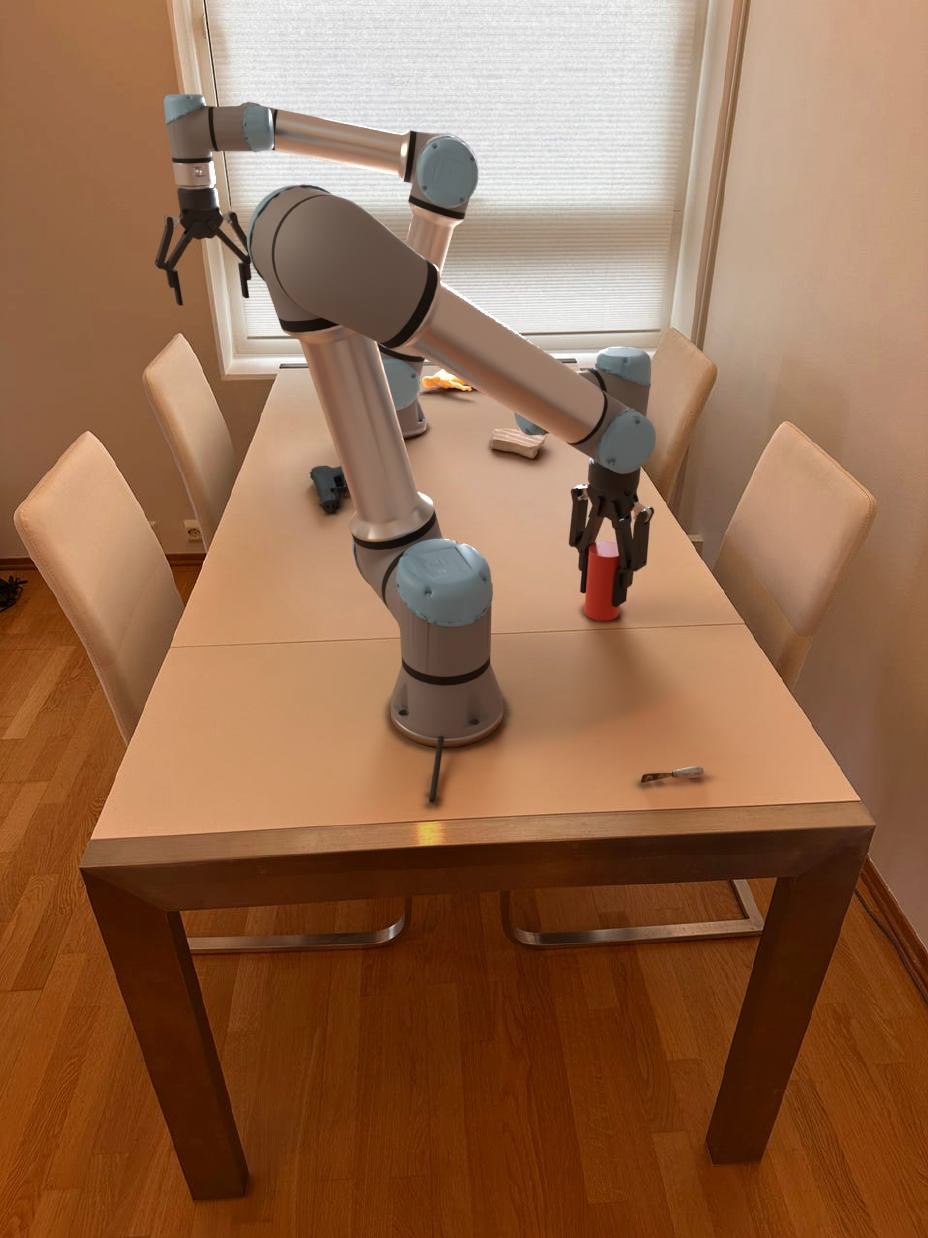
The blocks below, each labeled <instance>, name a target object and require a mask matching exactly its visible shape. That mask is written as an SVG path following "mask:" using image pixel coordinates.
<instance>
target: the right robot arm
mask: <svg viewBox="0 0 928 1238" xmlns="http://www.w3.org/2000/svg"><path fill="white" fill-rule="evenodd" d="M246 237H247V247H248V252H249V255H250V259H251V265H252V267H253V269H254V270H255V271H256V274H257V275H258V276H259V277H260V278H261V280H262V281H264V283H265V285H266V288H267V291H268V293H269V296H270V299H271V302H272V305H273V308H274V311H275V314H276V316H277V319H278V322H279V325H280V328H281V331H283V332H284V333H285V334H286V335H289V336H291V337H292V338H294V339H296V340H298V341H299V344H300V347H301V350H302V353H303V355H304V358H305V361H306V364H307V367H308V371H309V374H310V376H311V379H312V383H313V386H314V389H315V391H316V395H317V397H318V401H319V404H320V407H321V410H322V413H323V416H324V419H325V422H326V425H327V428H328V431H329V434H330V437H331V440H332V443H333V446H334V449H335V452H336V455H337V459H338V461H339V464H340V466H341V467H342V470H343V473H344V476H345V479H346V482H347V485H348V486H347V489H348V491H349V494H350V497H351V500H352V504H353V507H354V509H355V512H353V514H352V516H351V517H350V520H349V523H348V524H349V525H348V526H349V527H348V528H349V530H350V533H351V537H352V542H351V549H352V550H351V551H352V556H353V560H354V563H355V566H356V568H357V570H358V572H359V575H361V577H362V579H363V580H364V581H365V583H367V584H368V585H369V586H370V587H371V588H372V590H373V591H374V593H375V594H376V595H377V596H378V598H379V599H380V600H381V601H382V603H383V604H384V606H385V608H386V609H387V610H388V612H389V613H390V614H391V615H392V617H393V618H394V619H395V621H396V622H397V624H398V628H399V633H400V634H399V637H400V639H399V640H400V655H401V667H400V669H399V672H398V675H397V678H396V681H395V684H394V687H393V690H392V693H391V696H390V704H389V705H390V718H391V721H392V724H393V725H394V727H395V728H396V729H397V731H398V732H399V733H400V734H402V735H403V736H404V737H406V738H407V739H409V740H411V741H413V742H415V743H417V744H420V745H421V744H422V745H425V746H430V747H436V748H435V749H436V750H435V757H434V763H433V771H432V778H431V784H430V785H431V786H430V792H429V796H428V797H429V798H428V802H429V803H430V804H434V803H435V802H436V798H437V791H438V786H439V778H440V771H441V765H442V764H441V763H442V756H443V749H444V748H454V747H455V748H457V747H463V746H467V745H471V744H473V743H476V742H480V741H481V740H483V739H485V738H486V737H488V736H489V735H491V734H492V733H493V732H494V731H495V730H496V729H498V727H499V726H500V724H501V722H502V720H503V717H504V697H503V693H502V690H501V687H500V685H499V682H498V679H497V677H496V674H495V672H494V668H493V666H492V664H491V654H492V653H491V651H492V649H491V648H492V608H493V607H492V603H493V599H494V596H493V595H494V590H493V589H494V585H493V582H492V573H491V568H490V565H489V563H488V561H487V560H486V557H484V555H483V554H482V553H481V552H479V551H478V549H476V548H474V547H473V546H471V545H469V544H467V543H465V542H463V543H459V544H458V542H457V540H454V539H448V538H444V537H443V535H442V531H441V527H440V524H439V520H438V515H437V512H436V509H435V505H434V502H433V500H432V499H431V498H430V497H429V496H427V495H426V494H424V493H421V492H420V491H419V490H418V487H417V483H416V480H415V476H414V475H415V474H414V472H413V469H412V465H411V461H410V457H409V453H408V450H407V447H406V443H405V440H404V439H405V438H404V439H403V436H402V432H401V428H400V425H399V421H398V418H397V414H396V410H395V407H394V403H393V400H392V396H391V392H390V389H389V385H388V382H387V378H386V374H385V371H384V367H383V364H382V360H381V356H380V353H379V349H378V346H377V342H378V343H379V344H381V345H383V346H385V347H386V348H388V349H390V350H397V349H400V348H403V347H406V348H407V349H409V350H411V351H412V352H414V353H416V354H417V355H419V356H421V357H423V358H424V359H425V360H426V361H427V362H429V363H431V364H433V365H434V366H436V367H438V368H439V369H441V370H445V371H446V373H447V374H451V375H453V376H455V377H456V378H458V379H460V380H461V381H463V382H465V383H466V384H468V385H467V386H471V388H473V389H475V390H477V391H478V392H480V393H482V394H483V395H485V396H487V397H488V398H490V399H491V400H493V401H495V402H497V403H498V404H500V405H502V406H503V407H505V408H507V409H509V410H510V411H512V412H513V415H514V418H515V422H516V424H517V426H518V429H521V431H522V432H523V433H525V434H526V435H530V436H533V435H542V436H543V435H548V434H551V435H553V436H555V437H556V438H558V439H560V440H561V441H563V442H565V443H566V444H567V445H569V446H570V447H572V448H573V449H575V450H577V451H579V452H581V453H582V454H584V455H585V456H587V457H588V458H589V459H588V470H587V482H588V484H587V485H586V484H584V483H581V484H579V485H577V486H575V487H573V488H571V489H570V496H571V501H572V507H571V515H570V516H571V518H570V527H569V536H568V546H569V547H571V548H575V549H576V550H577V552H578V564H577V569H578V571H579V572H581V573H580V574H581V577H580V585H579V586H580V587H579V588H580V589H579V592H580V593H582V594H586V582H587V570H588V557H589V547H590V545H591V544H593V543H595V542H597V538H598V536H599V534H600V530H601V527H602V525H603V523H604V520H605V518H606V519H608V521H610V522H611V527H612V529H613V530H614V533H615V542H616V543H617V547H618V554H619V560H620V567H619V568H617V569H616V572H615V582H614V592H613V603H612V606H614V607H618V606H619V605H620V606H621V605H622V604H624V603H626V602H627V596H628V589H629V588H630V587H632V585H633V581H634V572H638V571H639V570H641V569H642V568H644V567H645V566H647V564H648V554H649V541H650V526H651V520H652V518H653V516H654V514H655V509H654V507H653V506H648V507H646V506H645V505H643V504H642V503H641V502H639V501H640V499H639V495H638V488H639V485H640V479H641V471H642V470H641V469H642V467H643V466H644V465H645V464H646V463H647V461H648V460H649V458H650V457H651V454H652V453H653V452H654V449H655V446H656V442H657V441H656V440H657V434H656V429H655V426H654V425H653V423H652V421H651V420H650V419H649V418H648V417H647V414H648V413H647V412H648V406H649V397H650V389H651V386H652V383H651V379H652V378H651V377H652V359H651V357H650V355H649V354H648V352H646V351H644V350H642V349H640V348H636V347H631V346H610V347H606V348H605V349H601V350H600V351H599V352H598V353H597V355H596V358H595V359H596V360H595V362H594V367H593V368H588V369H585V370H577V371H576V370H573V368H570V367H569V366H567V365H566V364H565V363H564V362H561V361H560V360H559V359H557V358H556V357H555V356H553V355H552V354H550V353H548V352H547V351H545V350H544V349H543V348H541V347H539V346H538V345H536V344H535V343H533V342H532V341H530V339H527V338H526V337H524V336H523V335H522V334H520V333H518V332H517V331H516V330H514V329H512V328H511V327H509V326H508V325H507V324H505V323H504V322H502V321H500V320H499V319H498V318H496V317H495V316H493V315H492V314H490V313H489V312H487V311H485V310H484V309H483V308H481V307H480V306H478V305H476V304H475V303H474V302H473V301H471V300H469V299H468V298H467V297H465V296H463V295H462V294H460V293H459V292H458V291H456V290H454V289H453V288H451V287H450V286H448V285H447V284H445V283H444V282H442V279H441V276H440V273H439V270H438V268H437V267H436V266H435V265H434V264H433V263H431V262H430V261H428V260H427V259H425V258H424V257H422V256H421V255H420V254H418V253H417V252H416V251H414V250H413V249H412V248H411V247H409V246H408V245H407V244H406V242H405V241H403V240H402V239H401V238H400V237H398V236H397V235H396V234H395V233H394V232H392V231H391V229H389V228H388V227H387V226H385V224H384V223H382V222H381V221H380V220H379V218H377V217H375V216H374V215H373V214H372V213H371V212H369V211H368V210H366V209H365V207H363V206H362V205H360V204H358V203H356V202H355V201H353V200H350V199H347V198H345V197H342V196H338V195H335V194H332V193H331V192H330V191H328V190H326V189H325V188H323V187H320V186H318V185H312V184H305V183H304V184H302V183H301V184H291V185H290V184H289V185H286V186H282V187H280V188H277V189H275V190H273V191H272V192H269V193H268V194H267V195H266V196H264V197H263V198H262V199H261V200H260V201H259V203H258V204H257V205H256V206H255V209H254V211H253V212H252V214H251V217H250V218H249V222H248V226H247V231H246ZM589 501H590V503H591V507H590V510H589V513H588V507H589ZM632 512H634V516H632ZM632 517H633V518H632ZM587 518H588V520H587ZM633 520H634V522H633ZM632 523H633V530H632Z"/></svg>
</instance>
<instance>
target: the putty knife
mask: <svg viewBox="0 0 928 1238" xmlns="http://www.w3.org/2000/svg"><path fill="white" fill-rule="evenodd" d="M704 772H705V771H704V768H702V767H701V766H697V765H695V766H688V767H683V768H679V769H675V770H673V771H671V772H653V773H652V772H651V773H650V772H649V773H644V774H642V776H641V779H640V783H642V784H645V783H648V782H653V781H659V780H665V779H668V778H673V779H674V778H675V779H693V778H694V779H695V778H700V777H702V776H703V775H704Z"/></svg>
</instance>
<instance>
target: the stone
mask: <svg viewBox="0 0 928 1238" xmlns="http://www.w3.org/2000/svg"><path fill="white" fill-rule="evenodd" d="M546 439H547V434H545V435H543V436H542V435H533V436H530V435H526V434H525V433H523V432H522V431H521V429H520V428H509V427H508V428H506V427H505V428H504V427H502V428H494V429H493V432H492V439H491V440H492V441H491V444H490V448H491V449H496V450H500V451H503V452H511V453H516V454H518V455H521V456H524V457H527V458H529V459H534V458H535V457H536V456H537V455H538V450H539V449H540V448H541V447H542V445H544V444H545V441H546Z"/></svg>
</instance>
